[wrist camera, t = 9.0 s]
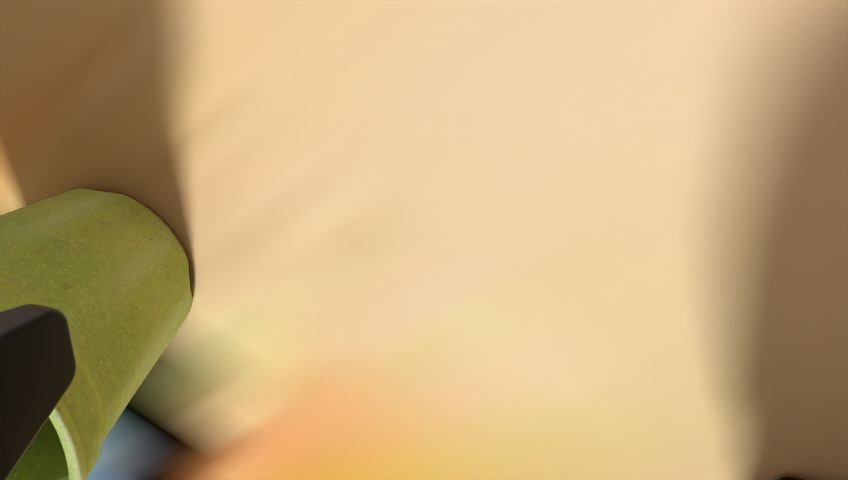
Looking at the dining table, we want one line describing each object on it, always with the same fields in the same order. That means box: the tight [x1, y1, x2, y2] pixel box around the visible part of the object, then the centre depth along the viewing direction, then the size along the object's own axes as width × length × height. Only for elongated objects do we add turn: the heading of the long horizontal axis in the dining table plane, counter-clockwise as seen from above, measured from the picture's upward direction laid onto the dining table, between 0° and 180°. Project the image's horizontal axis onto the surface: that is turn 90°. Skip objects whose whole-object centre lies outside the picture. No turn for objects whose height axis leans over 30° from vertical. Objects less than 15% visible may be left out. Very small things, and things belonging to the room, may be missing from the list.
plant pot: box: [0, 188, 193, 480], centre depth 22 cm, size 9×9×9 cm
